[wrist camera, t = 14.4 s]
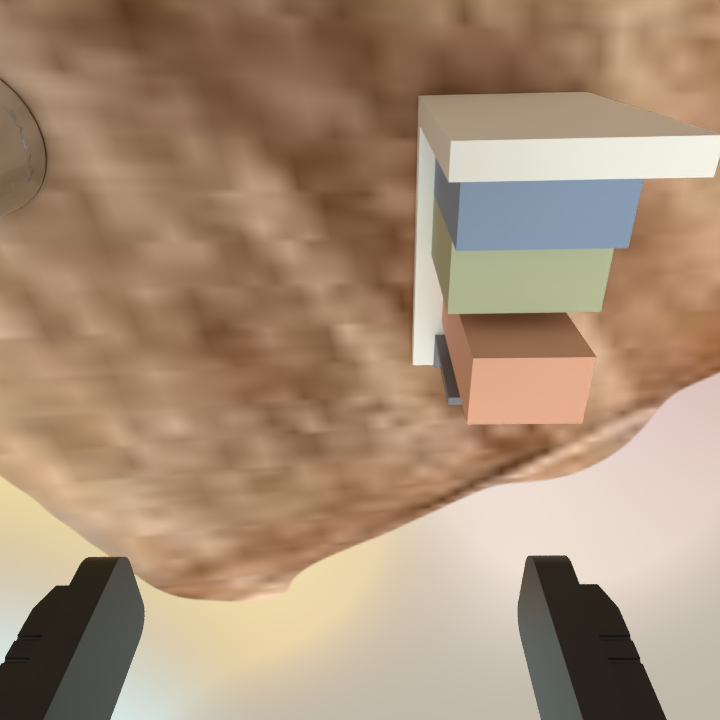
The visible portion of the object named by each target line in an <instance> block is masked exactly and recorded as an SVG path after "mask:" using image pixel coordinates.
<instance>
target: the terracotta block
mask: <svg viewBox="0 0 720 720" xmlns="http://www.w3.org/2000/svg"><path fill="white" fill-rule="evenodd" d="M442 325H443V329H444V333H445V337H446V341H447V345H448V349H449V354H450V358H451V362H452V366H453V370H454V374H455V378H456V382H457V386H458V390H459V394H460V398H461V402H462V406H463V410H464V414H465V418H466V422H467V424H562V423H582V422H583V417H584V412H585V408H586V403H587V399H588V394H589V390H590V385H591V380H592V376H593V371H594V367H595V362H596V358H597V357H596V356H595V354H594V353H593V351H592V350H591V348H590V347H589V345H588V344H587V343H586V341H585V340H584V338H583V337H582V335H581V334H580V332H579V331H578V329H577V328H576V327H575V325H574V324H573V322H572V321H571V319H570V318H569V316H568V315H567V313H566V312H553V313H488V314H447V310H446V306H445V303H444V299H443V308H442Z"/></svg>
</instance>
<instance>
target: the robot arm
mask: <svg viewBox="0 0 720 720" xmlns="http://www.w3.org/2000/svg"><path fill="white" fill-rule="evenodd" d="M45 164H46V155H45V149H44V144H43V139H42V137H41V134H40V131H39V129H38V126H37V124H36V122H35V120H34V118H33V117H32V115H31V113H30V112H29V110H28V108H27V107H26V106H25V104H24V103H23V102H22V101H21V100H20V98H19V97H18V96H17V95H16V94H15V92H14V91H12V90H11V89H10V88H9V87H8V86H7V85H6V84H4V83H3V82H2V81H1V80H0V218H2V217H4V216H6V215H8V214H10V213H11V212H13V211H15V210H17V209H19V208H21V207H22V206H24V205H26V204H27V203H28V202H29V201H30V200H31V199H32V198H33V197H34V196H35V195H36V193H37V192H38V190H39V188H40V187H41V185H42V182H43V178H44V174H45ZM143 625H144V604H143V601H142V598H141V595H140V592H139V589H138V586H137V582H136V580H135V576H134V573H133V570H132V567H131V564H130V562H129V560H128V558H126V557H88V558H86V559H85V560H83V562H82V563H81V564H80V566H79V568H78V570H77V571H76V573H75V575H74V577H73V579H72V581H71V583H70V585H69V586H55V587H54V588H53V589H52V590H51V591H50V592H49V593H48V594H47V595H46V596H45V597H44V598H43V599H42V600H41V601H40V602H39V603H38V604H37V605H36V606H35V607H34V608H33V609H32V611H31V613H30V614H29V616H28V618H27V620H26V622H25V623H24V625H23V627H22V629H21V631H20V632H19V634H18V639H17V640H16V641H14V642H13V644H12V646H11V648H10V649H9V651H8V653H7V655H6V657H5V662H4V663H2V664H1V665H0V720H110V719H111V716H112V713H113V711H114V708H115V705H116V702H117V700H118V697H119V694H120V692H121V688H122V686H123V683H124V681H125V678H126V675H127V673H128V670H129V667H130V665H131V662H132V659H133V657H134V654H135V651H136V648H137V646H138V643H139V640H140V637H141V634H142V630H143ZM518 625H519V631H520V636H521V641H522V645H523V649H524V653H525V657H526V661H527V665H528V669H529V673H530V677H531V681H532V685H533V689H534V693H535V697H536V701H537V705H538V709H539V713H540V717H541V720H667V719H666V717H665V715H664V712H663V710H662V708H661V705H660V703H659V701H658V699H657V696H656V694H655V692H654V689H653V687H652V685H651V682H650V680H649V678H648V675H647V673H646V671H645V668H644V666H643V664H641V662H640V657H639V654H638V652H637V650H636V647H635V645H634V643H633V641H631V639H630V633H629V631H628V629H627V626H626V624H625V622H624V619H623V617H622V615H621V612H620V610H619V608H618V607H617V606H616V604H615V603H614V602H613V601H612V600H611V599H610V598H609V597H608V595H607V594H606V593H605V592H604V591H603V590H602V589H601V588H600V587H599V585H597V584H579V582H578V579H577V577H576V574H575V571H574V568H573V566H572V564H571V561H570V559H569V558H568V557H567V556H528V557H527V559H526V563H525V568H524V573H523V579H522V585H521V590H520V596H519V601H518Z"/></svg>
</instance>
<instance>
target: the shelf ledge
mask: <svg viewBox="0 0 720 720" xmlns="http://www.w3.org/2000/svg"><path fill="white" fill-rule="evenodd" d="M719 157H720V133H717V132H714V131H711V130H708V129H705V128H701V127H698V126H695V125H692V124H688V123H685V122H682V121H679V120H676V119H672V118H669V117H666V116H663V115H660V114H656V113H653V112H650V111H647V110H643V109H640V108H637V107H634V106H631V105H627V104H624V103H621V102H618V101H615V100H611V99H608V98H605V97H602V96H598V95H595V94H592V93H589V92H550V93H508V94H465V95H422V96H419V99H418V136H417V174H416V211H415V249H414V287H413V324H412V361H413V365H434V367H440V369H441V374H442V378H443V383H444V388H445V393H446V397H447V402H448V405H462V402H461V398H460V394H459V390H458V386H457V382H456V378H455V374H454V370H453V366H452V362H451V358H450V354H449V349H448V345H447V341H446V337H445V333H444V329H443V325H442V308H443V299H444V303H445V306H446V310H447V314H488V313H553V312H601V308H602V303H603V298H604V294H605V289H606V284H607V279H608V275H609V270H610V265H611V260H612V255H613V251H614V248H628V247H629V242H630V238H631V233H632V229H633V224H634V220H635V215H636V211H637V206H638V202H639V197H640V193H641V188H642V184H643V179H645V178H695V177H714V175H715V171H716V167H717V164H718V160H719Z"/></svg>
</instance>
